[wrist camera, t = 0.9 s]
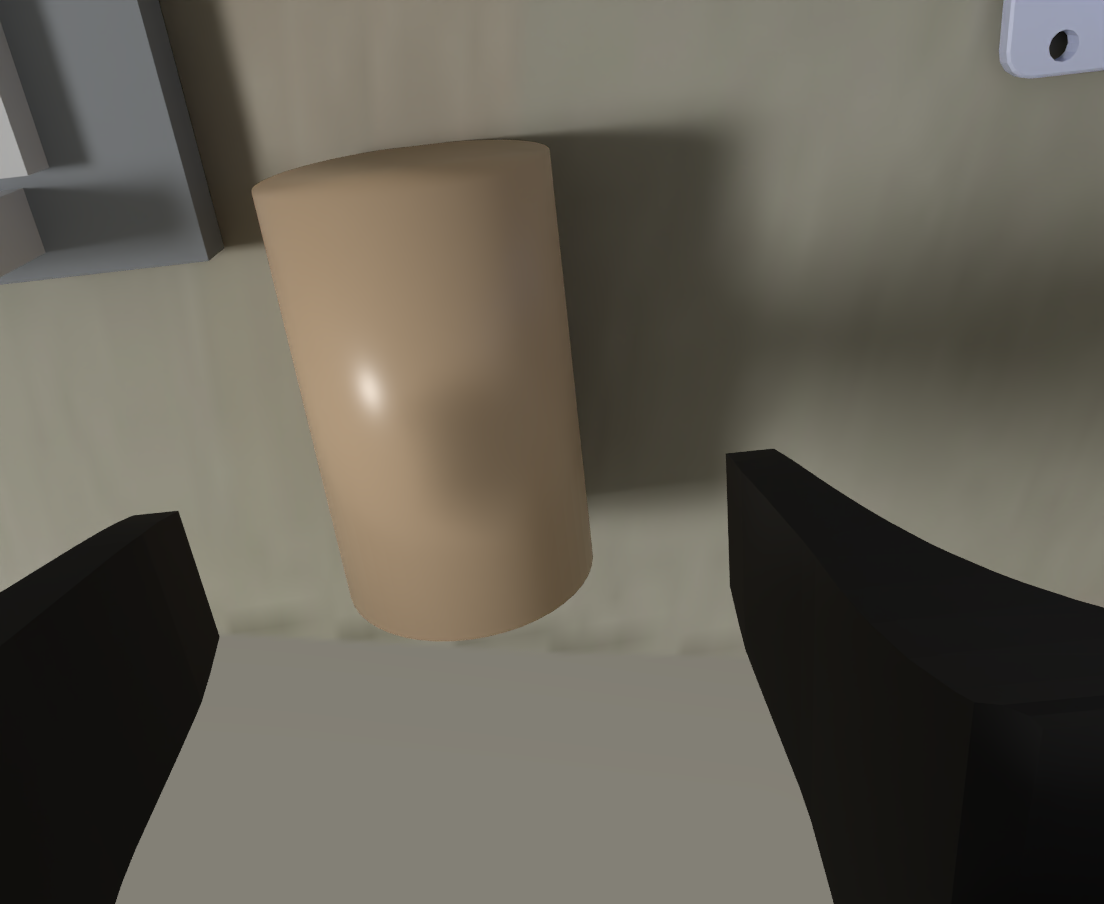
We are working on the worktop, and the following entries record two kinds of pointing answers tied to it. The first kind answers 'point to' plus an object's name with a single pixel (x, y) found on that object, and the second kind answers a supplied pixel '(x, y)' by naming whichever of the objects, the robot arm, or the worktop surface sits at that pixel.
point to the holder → (95, 144)
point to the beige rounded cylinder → (436, 379)
